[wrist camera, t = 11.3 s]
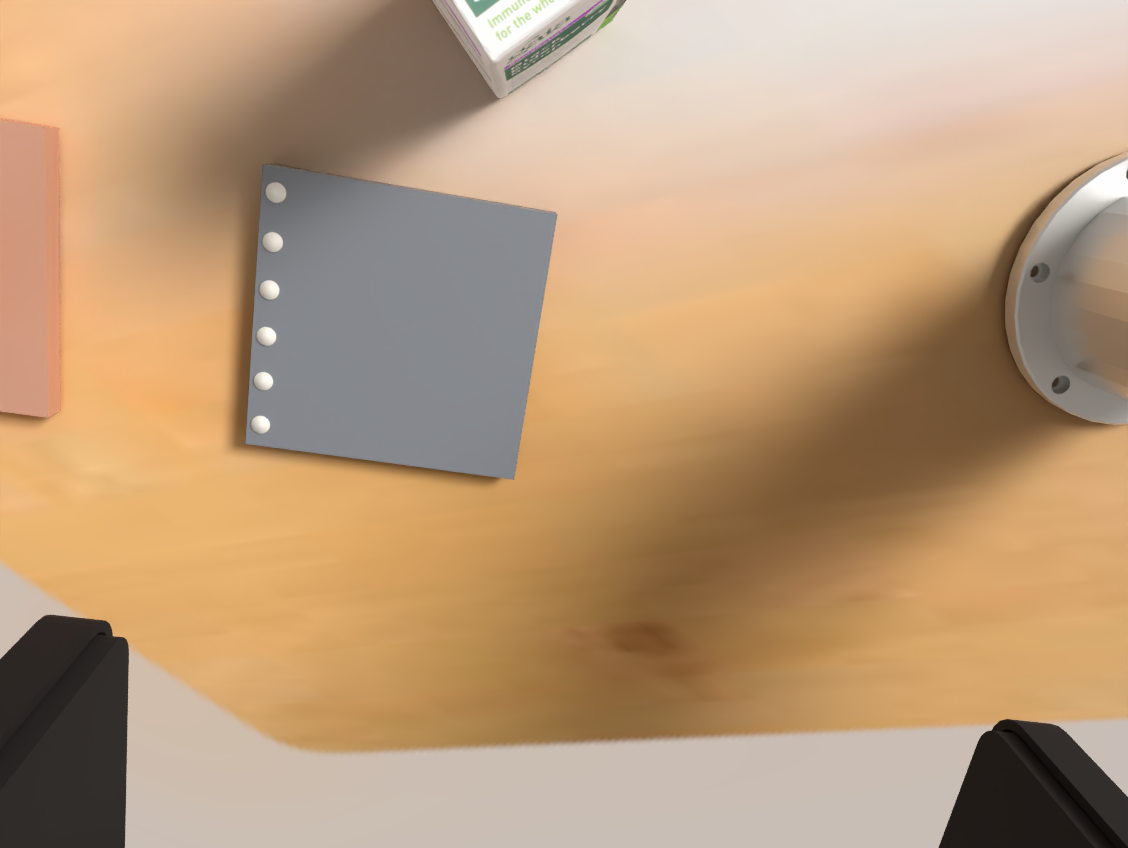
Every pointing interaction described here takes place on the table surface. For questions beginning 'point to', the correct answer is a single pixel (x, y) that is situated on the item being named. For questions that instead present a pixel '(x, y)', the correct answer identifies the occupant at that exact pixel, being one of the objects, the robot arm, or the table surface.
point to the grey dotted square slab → (394, 322)
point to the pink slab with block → (29, 269)
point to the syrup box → (522, 34)
